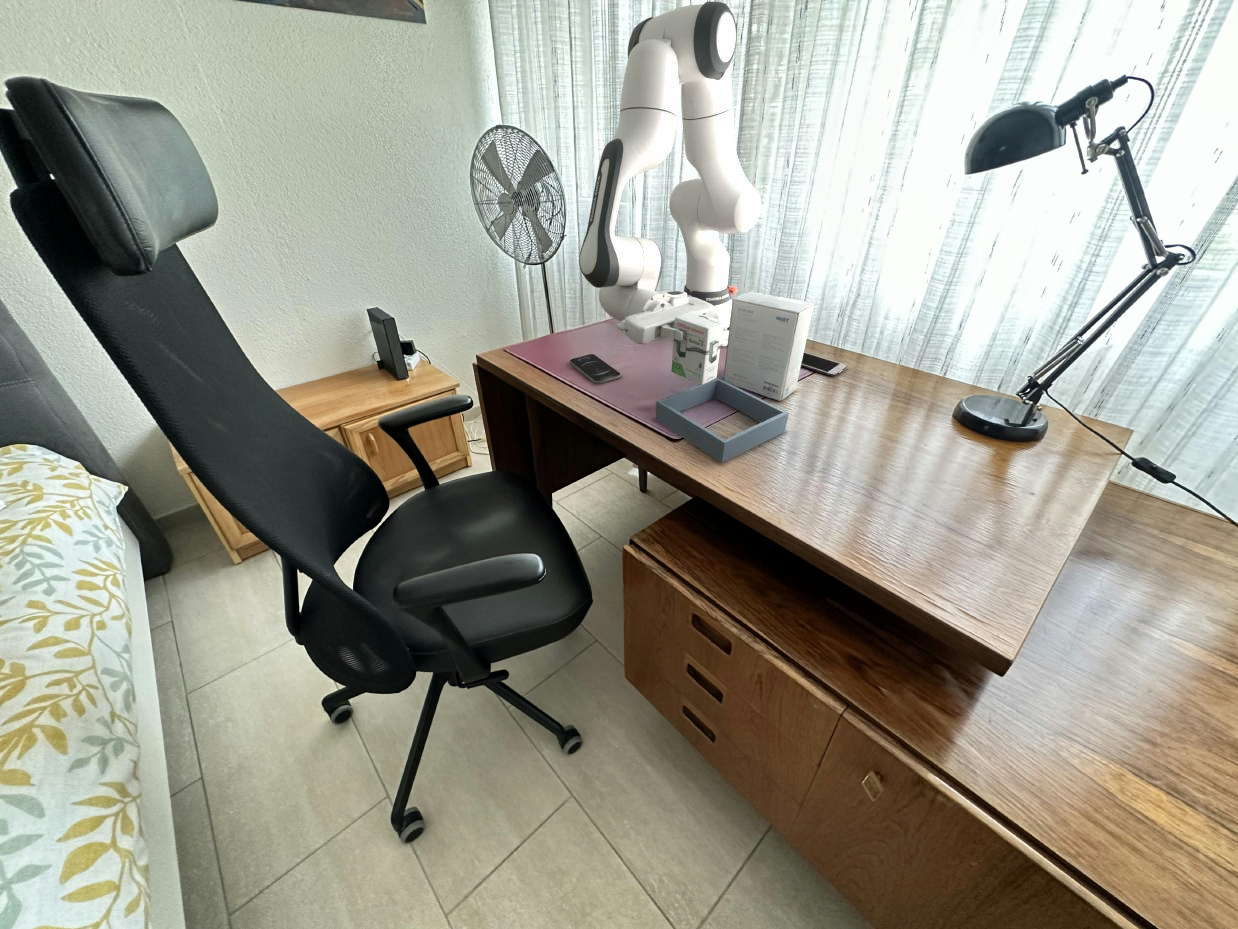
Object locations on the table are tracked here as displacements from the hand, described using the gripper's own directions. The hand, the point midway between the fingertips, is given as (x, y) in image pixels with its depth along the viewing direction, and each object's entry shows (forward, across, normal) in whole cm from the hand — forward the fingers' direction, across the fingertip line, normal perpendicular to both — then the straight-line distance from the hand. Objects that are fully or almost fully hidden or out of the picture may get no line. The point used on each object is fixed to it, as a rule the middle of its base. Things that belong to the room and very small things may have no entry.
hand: (696, 332), depth 92 cm
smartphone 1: (-30, -5, +18) cm, 36 cm away
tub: (+8, +1, +18) cm, 19 cm away
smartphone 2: (+1, +41, +18) cm, 45 cm away
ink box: (0, 0, +9) cm, 9 cm away
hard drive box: (+1, +21, +18) cm, 28 cm away
